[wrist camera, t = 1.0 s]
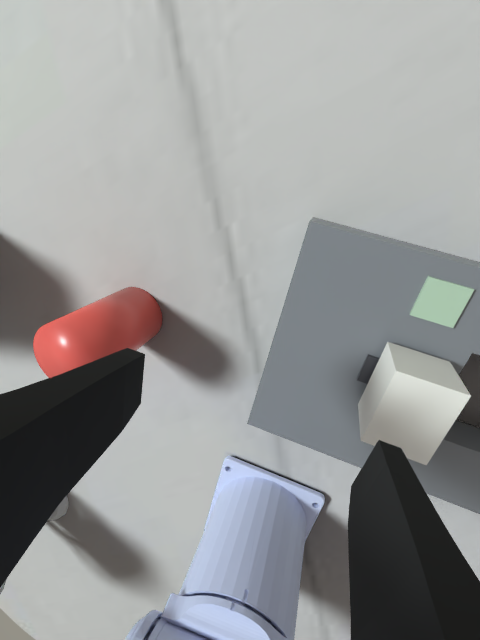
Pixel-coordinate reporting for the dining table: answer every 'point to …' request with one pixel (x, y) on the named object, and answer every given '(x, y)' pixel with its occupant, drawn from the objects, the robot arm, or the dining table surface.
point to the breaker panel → (369, 345)
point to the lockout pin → (97, 331)
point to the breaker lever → (411, 402)
